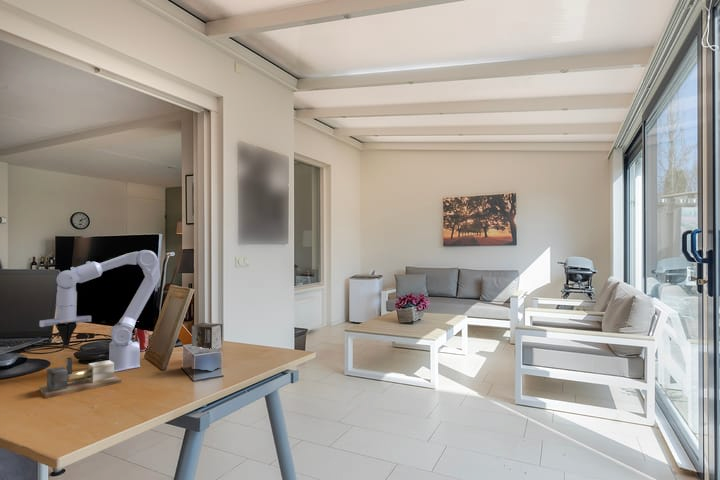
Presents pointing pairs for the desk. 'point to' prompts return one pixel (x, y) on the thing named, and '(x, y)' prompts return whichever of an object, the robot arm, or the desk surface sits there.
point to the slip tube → (78, 374)
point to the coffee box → (207, 335)
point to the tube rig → (60, 386)
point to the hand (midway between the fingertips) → (65, 345)
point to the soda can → (142, 338)
